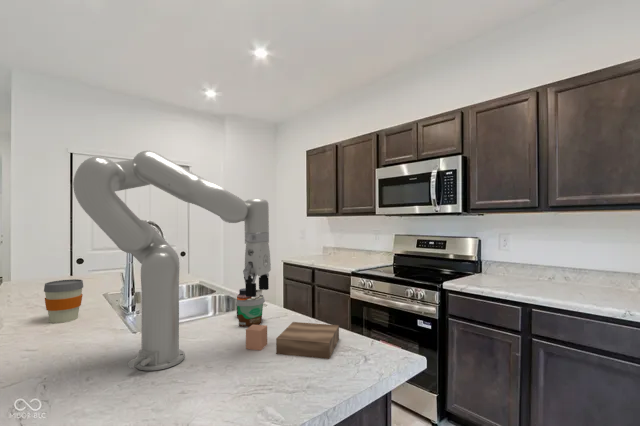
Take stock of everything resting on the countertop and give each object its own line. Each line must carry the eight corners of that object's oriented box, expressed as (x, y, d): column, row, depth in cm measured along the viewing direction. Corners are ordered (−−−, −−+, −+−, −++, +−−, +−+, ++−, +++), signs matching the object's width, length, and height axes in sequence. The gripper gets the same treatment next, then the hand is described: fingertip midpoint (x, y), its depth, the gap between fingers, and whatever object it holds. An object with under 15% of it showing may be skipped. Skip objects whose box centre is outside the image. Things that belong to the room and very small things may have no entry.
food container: (246, 330, 119) (246, 302, 119) (235, 327, 122) (235, 300, 123) (271, 321, 128) (271, 296, 129) (260, 319, 132) (260, 293, 132)
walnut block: (329, 360, 94) (329, 342, 94) (276, 355, 98) (276, 338, 98) (339, 340, 110) (338, 325, 110) (293, 336, 114) (292, 321, 114)
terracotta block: (260, 350, 101) (260, 330, 101) (245, 349, 102) (245, 329, 102) (267, 344, 106) (267, 325, 106) (252, 343, 107) (252, 324, 107)
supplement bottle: (244, 320, 131) (244, 291, 131) (233, 317, 134) (233, 289, 134) (254, 316, 136) (254, 288, 136) (244, 314, 139) (244, 287, 139)
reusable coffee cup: (88, 318, 134) (89, 281, 135) (51, 326, 124) (51, 286, 124) (75, 313, 141) (75, 278, 141) (38, 321, 130) (38, 283, 131)
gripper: (256, 240, 95) (257, 300, 95) (277, 236, 112) (278, 287, 112) (232, 240, 97) (233, 299, 97) (257, 236, 114) (257, 286, 113)
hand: (257, 292), depth 104 cm, fingers open, 9 cm apart
